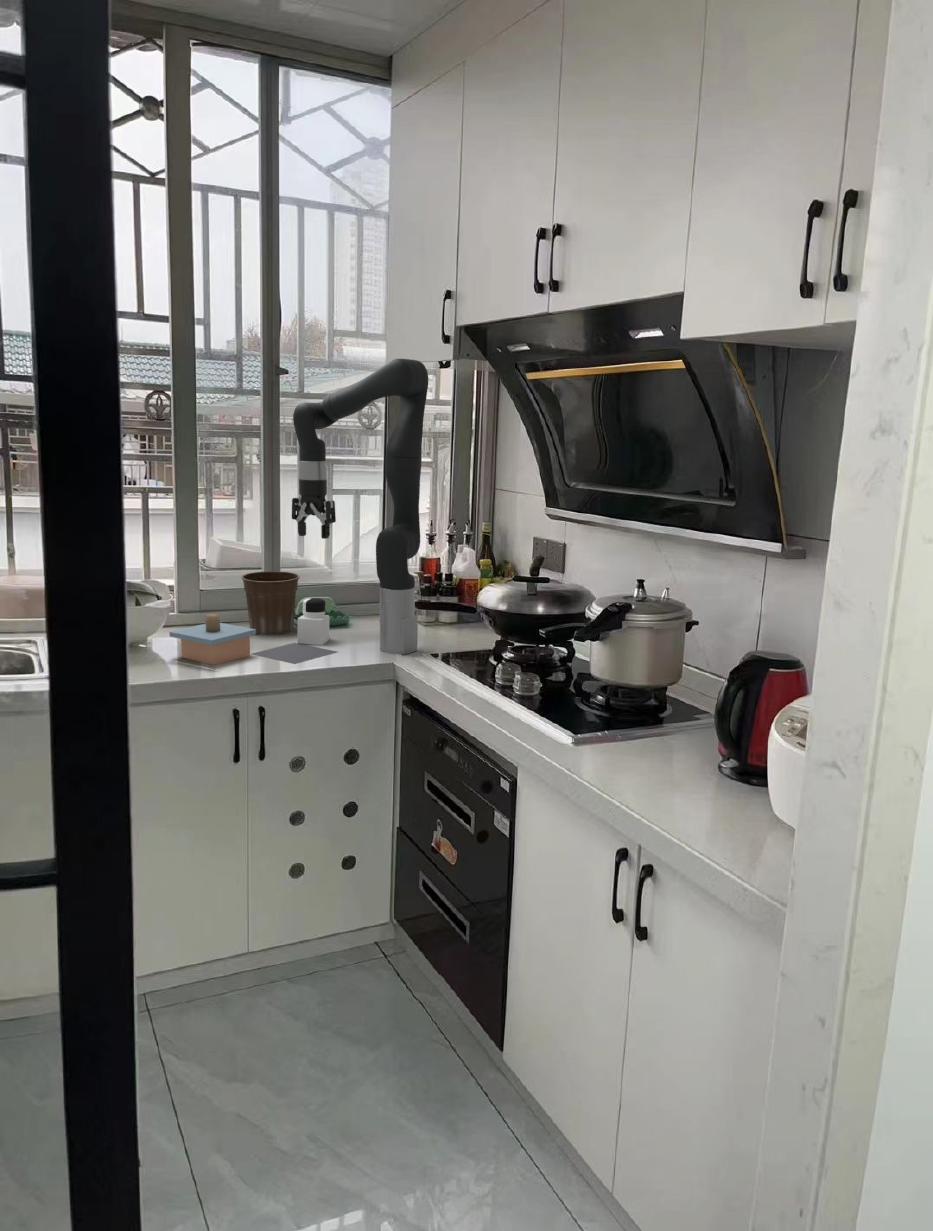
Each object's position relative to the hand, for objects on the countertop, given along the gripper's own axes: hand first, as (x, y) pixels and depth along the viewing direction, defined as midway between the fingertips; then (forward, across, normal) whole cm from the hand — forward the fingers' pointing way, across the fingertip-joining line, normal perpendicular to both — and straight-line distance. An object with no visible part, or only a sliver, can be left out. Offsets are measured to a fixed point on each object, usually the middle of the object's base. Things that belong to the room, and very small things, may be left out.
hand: (313, 537), depth 266 cm
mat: (+28, -10, +18) cm, 35 cm away
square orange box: (+28, +3, +33) cm, 43 cm away
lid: (+22, +3, +34) cm, 40 cm away
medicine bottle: (+28, -5, +6) cm, 29 cm away
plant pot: (+28, +14, +3) cm, 32 cm away
